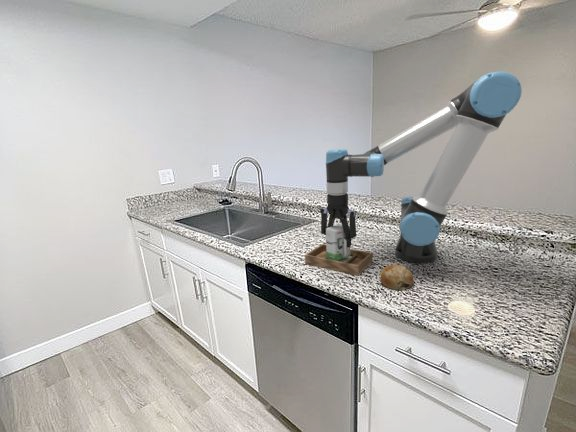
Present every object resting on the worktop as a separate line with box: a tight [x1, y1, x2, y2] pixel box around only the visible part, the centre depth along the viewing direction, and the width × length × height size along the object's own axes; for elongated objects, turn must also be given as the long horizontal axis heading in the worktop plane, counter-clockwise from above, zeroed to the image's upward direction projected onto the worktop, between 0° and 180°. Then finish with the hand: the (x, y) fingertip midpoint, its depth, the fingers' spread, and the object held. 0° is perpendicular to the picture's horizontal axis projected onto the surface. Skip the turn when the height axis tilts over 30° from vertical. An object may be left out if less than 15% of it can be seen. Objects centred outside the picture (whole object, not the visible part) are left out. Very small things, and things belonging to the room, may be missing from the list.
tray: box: [304, 243, 374, 277], centre depth 116 cm, size 22×14×4 cm, turn 54°
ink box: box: [325, 223, 351, 261], centre depth 114 cm, size 9×5×12 cm, turn 128°
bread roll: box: [379, 263, 415, 291], centre depth 97 cm, size 10×10×8 cm
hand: (338, 253), depth 115 cm, fingers closed on ink box, 6 cm apart
